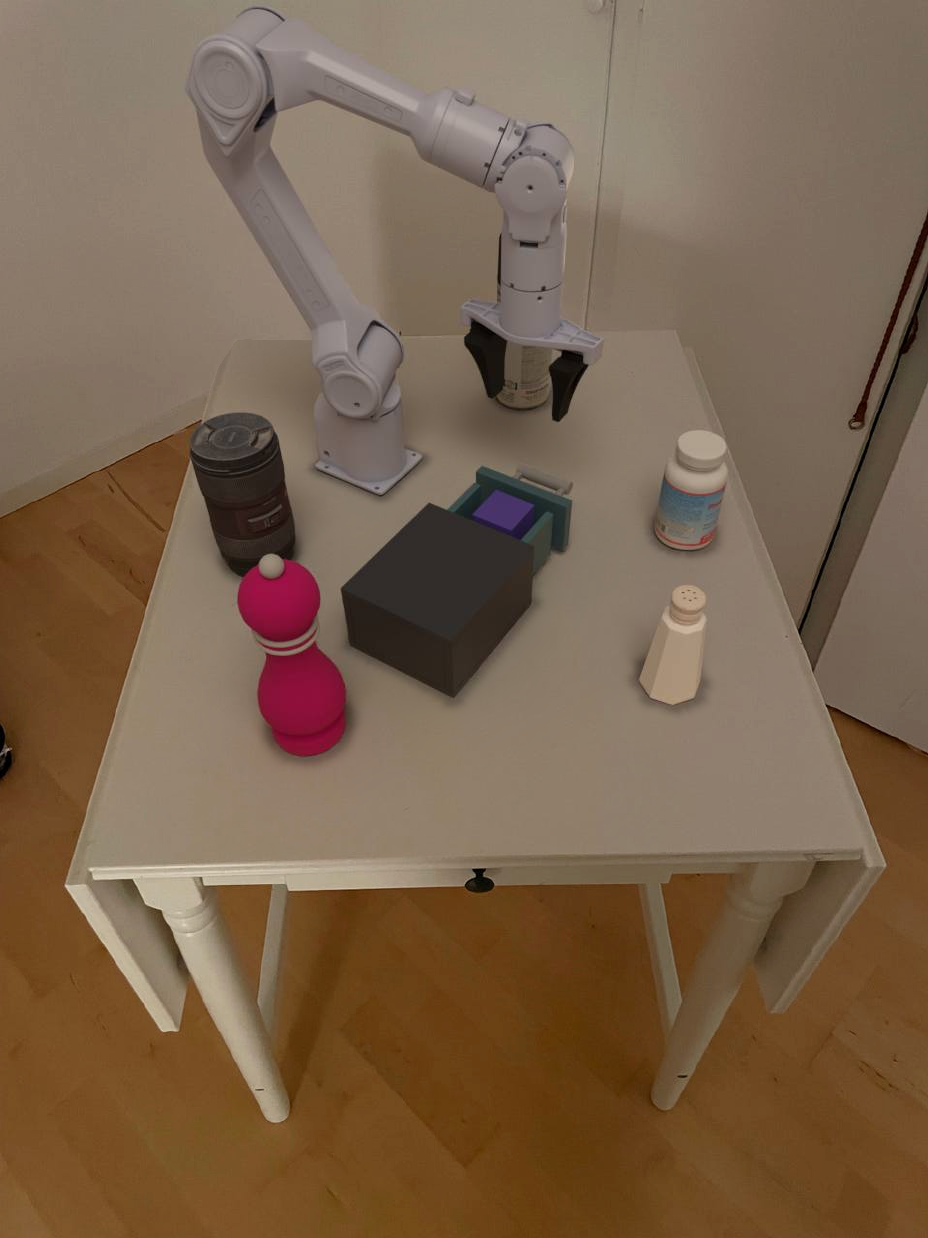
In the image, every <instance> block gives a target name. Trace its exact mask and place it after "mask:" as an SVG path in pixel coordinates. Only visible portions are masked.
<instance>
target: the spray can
mask: <svg viewBox="0 0 928 1238" xmlns="http://www.w3.org/2000/svg"><path fill="white" fill-rule="evenodd" d="M497 252H498V254H497V255H498V256H497V276H496V281H497V283H496V284H497V285H496V302H499V303H500V298H501V233H500V234H499V237H498V251H497ZM552 359H553V349H550V348H542V347H533V346H524V345H518V344H514V343H511V342H509V341H507V346H506V353H505V374H504V386H503V390H502V391H501V392H500V393H499V394H498V395H497V396H496V397H495V398H496V399H497V400H498V402H499V403H500V404H501V405H503V406H504V407H507V408H508V409H512V410H518V411H525V410H527V411H528V410H533V409H535V408H538V407H540V406H541V405H543V404H544V403H545V402H546V401H547V399H548V397H549V394H550V387H551V376H550V372H549V366H550V365H551V364H552Z"/></svg>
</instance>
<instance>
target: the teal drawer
mask: <svg viewBox="0 0 928 1238" xmlns="http://www.w3.org/2000/svg"><path fill="white" fill-rule="evenodd" d="M521 479H524V480H527V481H529V482H532V483H534V484H537V485H540V486H543V487H545V488H548V489H550V490H553V491H556V492H555V493H554V492H552V491H549V490H546V489H544V488H541V487H539V486H536V485H534V484H530V483H528V482H525V481H523V480H521ZM573 488H574V483H573V481H570V480H568V479H565V478H563V477H560V476H558V475H555V474H553V473H550V472H547V471H544V470H541V469H539V468H536V467H534V466H531V465H528V464H526V463H523V462H520V463H519V464H518V465H517V467H516V471H515V473H514V474H513V475H512V476H510V475H508V474H504V473H502V472H500V471H497V470H495V469H492V468H489V467H487V466H484V465H481V466H479V467H478V468H477V470H475V482H473V483H472V484H471V485H470V486H469V487H468V488H467V489H466V490H465V491H464V492H463V493H462V494H461V495H460V496H459V497H458V498H457V499H456V500H455V501H454V502H453V503H452V504H451V505H450V506H449V507H448V508H447V509H446V510H449V511H451V512H453V513H456V514H458V515H461V516H463V517H465V518H468V519H470V520H472V514H473V513H474V512H475V511H476V510H477V509H478V508H479V507H480V506H481V505H482V504H483V503H484V502H485V501H486V500H487V499H488V498H489V497H490V496H491V495H492V494H493V492H494V491H495V490H498V491H500V492H503V493H506V494H508V495H511V496H513V497H516V498H518V499H521V500H523V501H526V502H528V503H531V504H533V505H534V523H533V527H532V528H531V529H530V530H529V531H528V532H527V534H526V535H525V536H524V537H523V538H522V539H521V541H523V542H526V543H528V544H530V545H533V546H534V561H533V575H534V574H535V573H536V572H537V571H538V570H539V568H540V567H541V566H542V565H543V563H544V562H545V561H546V560H547V559H548V557H549V556H550V555H551V551H552V547H553V548H554V549H557V550H559V551H563V552H564V551H565V549H566V548H567V547H568V546H569V543H570V531H571V519H572V508H573V500H572V499H570V498H567V497H564V496H565V495H566V496H569V495H570V494H571V492H572V490H573Z"/></svg>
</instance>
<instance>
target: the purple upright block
mask: <svg viewBox="0 0 928 1238" xmlns="http://www.w3.org/2000/svg"><path fill="white" fill-rule="evenodd" d="M472 520H473V521H475V522H477V523H480V524H482V525H485V526H487V527H489V528H492V529H494V530H497V531H499V532H502V533H504V534H506V535H509V536H511V537H514V538H516V539H518V540H521V539H522V538H523V537H524V536H525V535H526V534H527V532H528V531H529V530H530V529H531V528H532V527H533V523H534V505H533V504H531V503H528V502H526V501H523V500H521V499H518V498H516V497H513V496H511V495H508V494H506V493H503V492H500V491H498V490H495V491H494V492H493V494H492V495H491V496H490V497H489V498H488V499H487V500H486V501H485V502H484V503H483V504H482V505H481V506H480V507H479V508H478V509H477V510H476V511H475V512H474V513H473V514H472Z"/></svg>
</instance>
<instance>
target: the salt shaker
mask: <svg viewBox="0 0 928 1238" xmlns="http://www.w3.org/2000/svg"><path fill="white" fill-rule="evenodd" d="M706 604H707V595H706V594H705V593H704V591H703V590H702V589H701V588H699V587H697V586H695V585H692V584H684V585H679V586H677V587H676V588H673V590H672V592H671V595H670V603H669V605H666V606H665V608H664V610H663V613H662V615H661V617H660V620H659V623H658V625H657V628H656V631H655V634H654V637H653V639H652V642H651V645H650V648H649V650H648V653H647V656H646V658H645V661H644V664H643V667H642V671H641V673H640V675H639V678H638V682H639V683H640V684H641V686H642V688H643V689H644V691H645V692H646V694H647V695H648V697H649V698H650V699H652V700H656V701H659V702H662V703H664V704H668V705H670V706H674V705H677V704H681V703H683V702H687V701H689V700H693V699H695V697H696V694H697V692H698V688H699V685H700V683H701V677H702V669H703V660H704V659H703V658H704V650H705V642H706V641H705V640H706V631H707V621H708V620H707V616H706V615H705V614H704V610H705V606H706Z"/></svg>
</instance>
